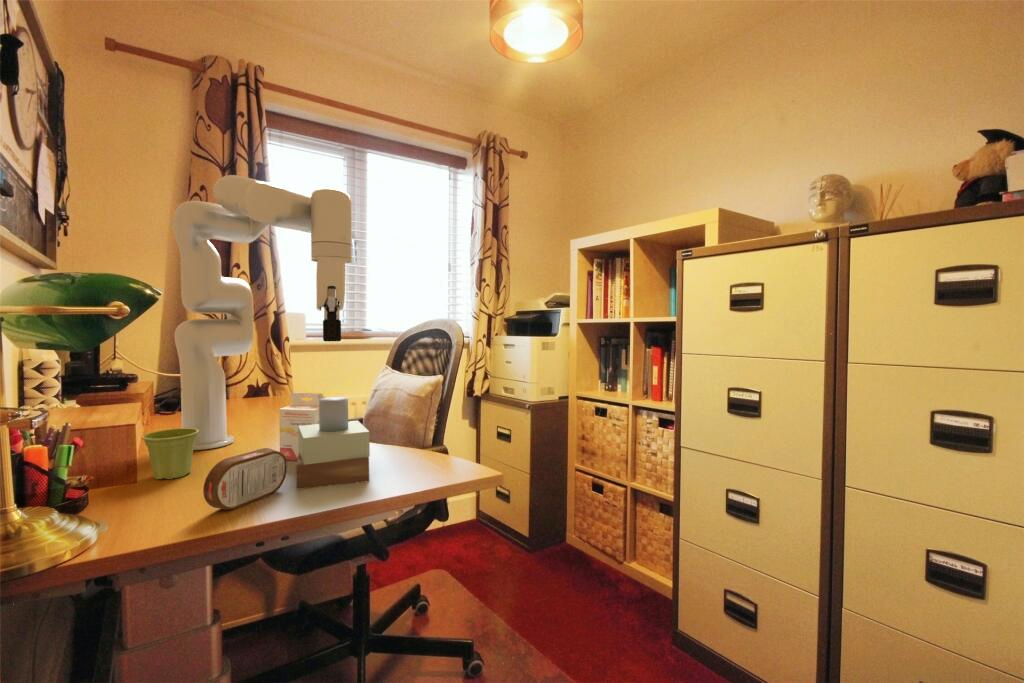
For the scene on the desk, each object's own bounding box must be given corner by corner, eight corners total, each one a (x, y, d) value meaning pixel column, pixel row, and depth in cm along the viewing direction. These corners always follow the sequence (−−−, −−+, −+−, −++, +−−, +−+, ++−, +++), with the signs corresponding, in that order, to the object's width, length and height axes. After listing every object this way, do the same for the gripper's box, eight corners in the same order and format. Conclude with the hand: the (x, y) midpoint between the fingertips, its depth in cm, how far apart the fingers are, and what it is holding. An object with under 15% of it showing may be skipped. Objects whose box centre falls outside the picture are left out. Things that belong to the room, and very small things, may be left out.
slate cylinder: (319, 427, 100) (319, 397, 100) (347, 425, 102) (347, 396, 102) (319, 432, 95) (318, 402, 95) (348, 430, 97) (348, 400, 97)
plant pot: (152, 486, 92) (151, 441, 92) (136, 476, 98) (134, 433, 98) (207, 474, 100) (206, 432, 99) (189, 465, 105) (188, 426, 105)
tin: (278, 486, 92) (277, 442, 92) (290, 488, 91) (290, 444, 91) (202, 516, 78) (200, 464, 78) (216, 519, 77) (214, 466, 77)
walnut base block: (300, 471, 103) (299, 447, 103) (364, 465, 108) (364, 442, 108) (296, 491, 91) (296, 465, 91) (369, 483, 96) (368, 458, 95)
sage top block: (298, 449, 101) (298, 425, 101) (358, 443, 107) (357, 420, 107) (303, 464, 91) (303, 438, 91) (369, 456, 96) (369, 431, 96)
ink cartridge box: (278, 460, 109) (277, 395, 109) (290, 454, 114) (289, 392, 114) (315, 461, 109) (314, 396, 108) (325, 455, 114) (324, 392, 113)
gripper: (313, 258, 104) (314, 338, 105) (308, 247, 88) (309, 342, 88) (350, 259, 106) (351, 338, 107) (352, 249, 90) (353, 342, 91)
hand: (332, 340), depth 98 cm, fingers open, 9 cm apart
